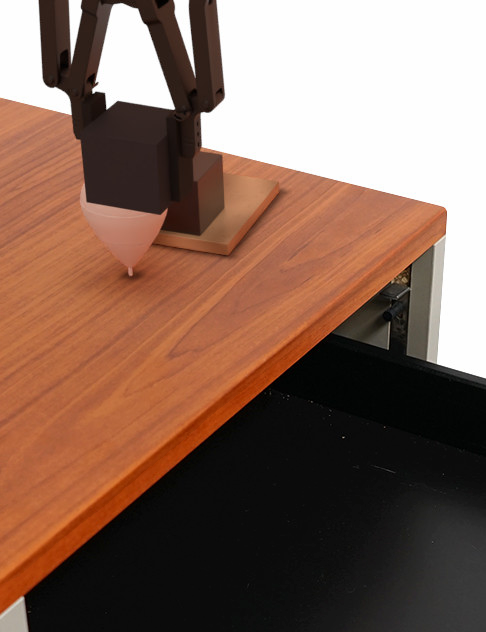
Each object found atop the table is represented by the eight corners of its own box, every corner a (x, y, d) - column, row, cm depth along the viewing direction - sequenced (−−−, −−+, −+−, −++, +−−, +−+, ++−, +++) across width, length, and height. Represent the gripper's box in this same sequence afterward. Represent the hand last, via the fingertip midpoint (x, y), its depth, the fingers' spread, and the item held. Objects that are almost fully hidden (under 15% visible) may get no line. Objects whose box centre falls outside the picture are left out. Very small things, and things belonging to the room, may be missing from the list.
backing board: (110, 236, 135) (103, 170, 130) (170, 175, 147) (166, 112, 143) (228, 255, 133) (225, 188, 129) (279, 192, 145) (278, 129, 141)
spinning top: (111, 251, 132) (99, 127, 125) (186, 266, 131) (178, 141, 123) (73, 285, 126) (58, 157, 119) (150, 301, 125) (140, 172, 118)
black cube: (86, 202, 106) (79, 131, 102) (122, 168, 111) (117, 100, 108) (160, 215, 105) (156, 144, 102) (194, 180, 111) (190, 112, 107)
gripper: (270, -134, 95) (273, 189, 110) (11, -170, 97) (48, 151, 112) (233, -111, 89) (241, 227, 104) (-41, -149, 92) (4, 186, 106)
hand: (141, 187), depth 108 cm, fingers closed on black cube, 6 cm apart
